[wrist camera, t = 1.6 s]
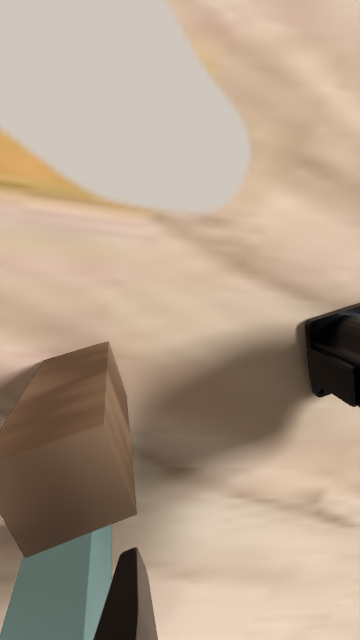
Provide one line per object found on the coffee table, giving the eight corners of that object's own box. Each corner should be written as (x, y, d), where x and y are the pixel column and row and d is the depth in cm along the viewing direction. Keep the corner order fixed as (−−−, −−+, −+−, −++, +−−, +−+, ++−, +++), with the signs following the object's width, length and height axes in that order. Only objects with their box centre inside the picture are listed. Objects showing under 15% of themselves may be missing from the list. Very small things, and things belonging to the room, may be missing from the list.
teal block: (95, 485, 20) (81, 660, 11) (112, 526, 21) (111, 712, 13) (37, 507, 19) (-22, 708, 11) (58, 548, 21) (18, 759, 12)
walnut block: (108, 341, 18) (103, 424, 9) (126, 395, 19) (136, 514, 10) (43, 360, 17) (-25, 468, 9) (66, 415, 18) (25, 558, 10)
